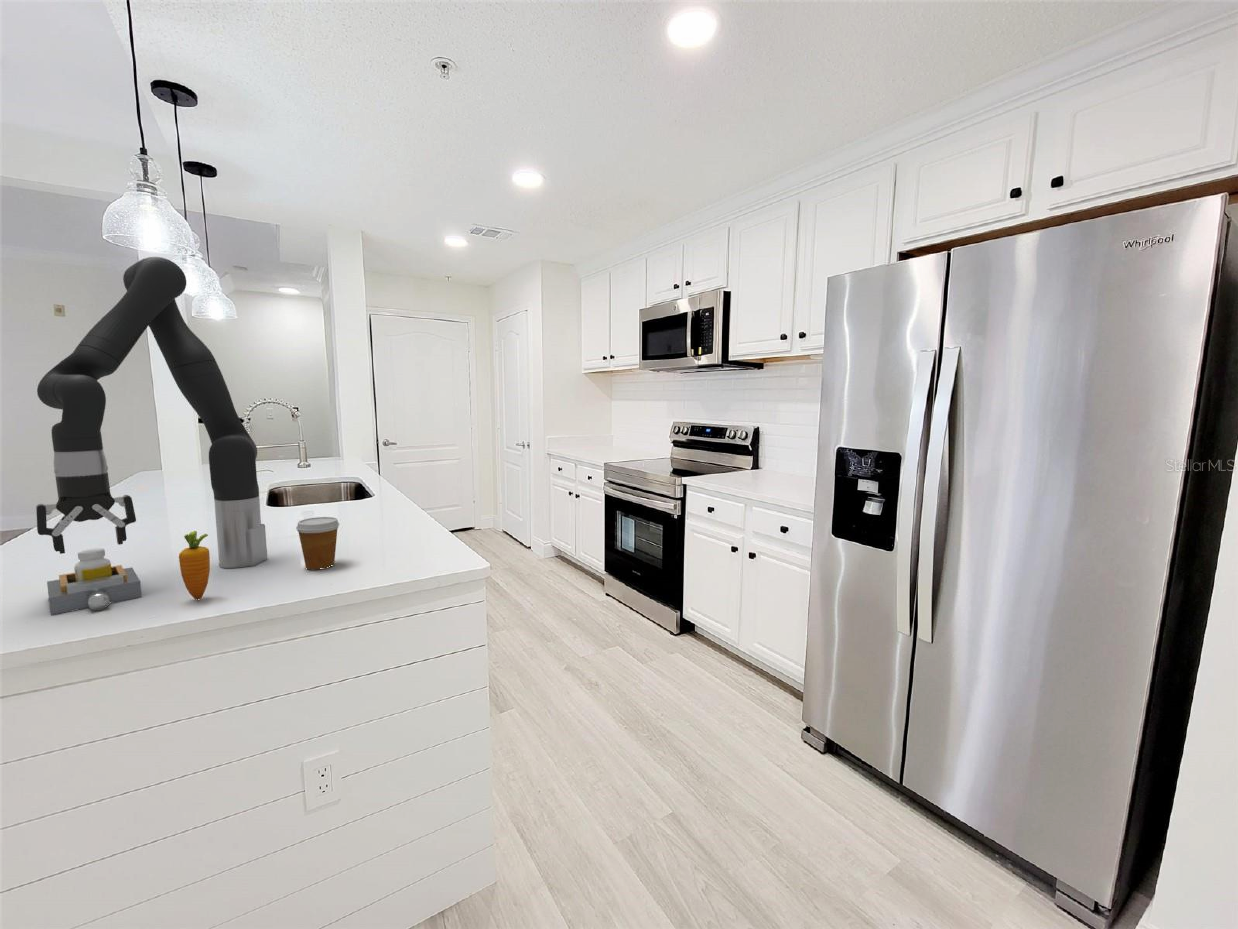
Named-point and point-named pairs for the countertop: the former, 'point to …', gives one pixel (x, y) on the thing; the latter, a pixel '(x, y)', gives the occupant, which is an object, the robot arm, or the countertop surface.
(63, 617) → the countertop surface
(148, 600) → the countertop surface
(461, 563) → the countertop surface
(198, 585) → the carrot
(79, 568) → the supplement bottle
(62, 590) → the grey drawer
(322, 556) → the disposable coffee cup
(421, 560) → the countertop surface
